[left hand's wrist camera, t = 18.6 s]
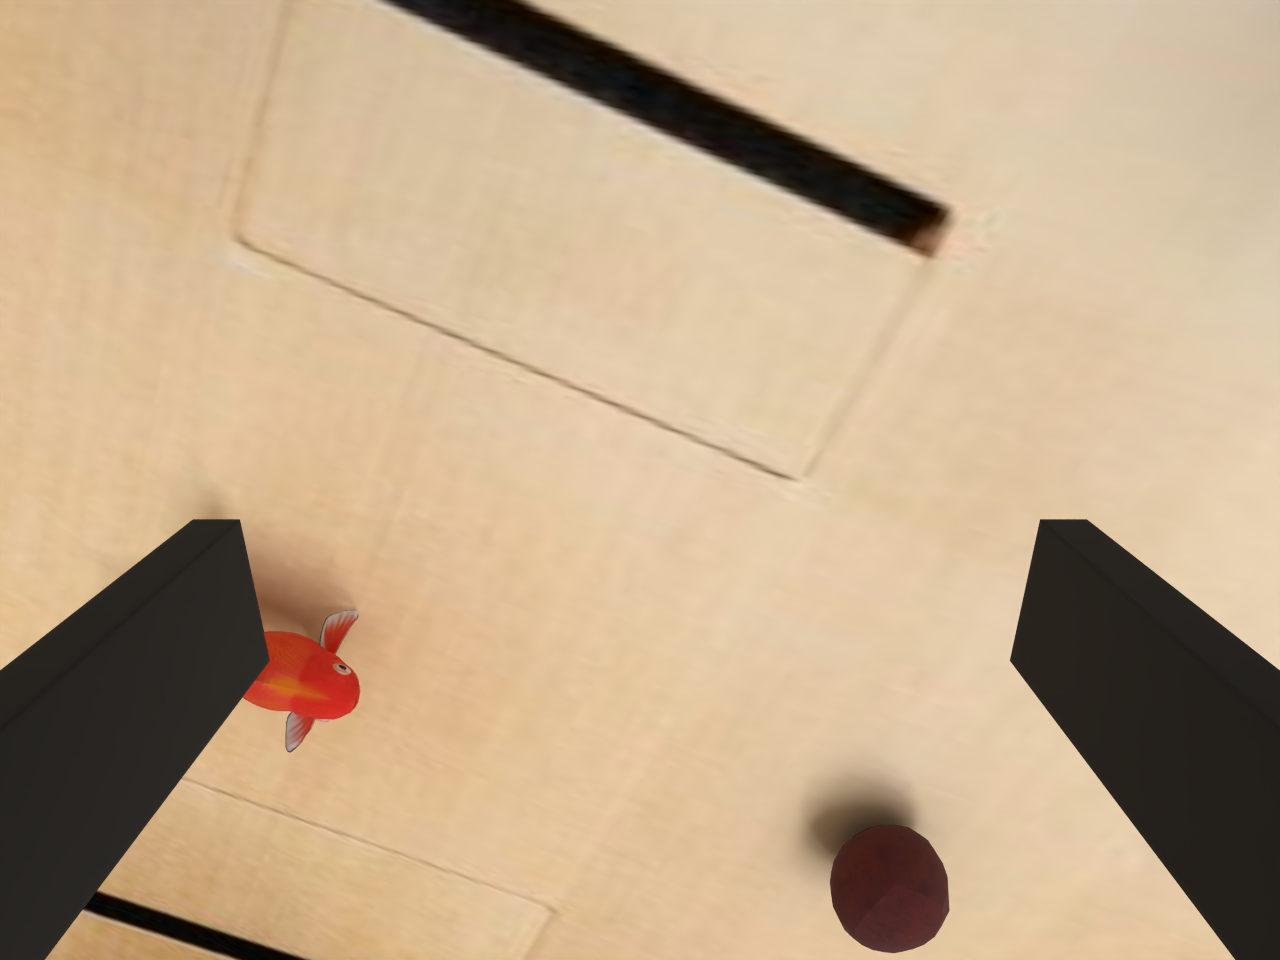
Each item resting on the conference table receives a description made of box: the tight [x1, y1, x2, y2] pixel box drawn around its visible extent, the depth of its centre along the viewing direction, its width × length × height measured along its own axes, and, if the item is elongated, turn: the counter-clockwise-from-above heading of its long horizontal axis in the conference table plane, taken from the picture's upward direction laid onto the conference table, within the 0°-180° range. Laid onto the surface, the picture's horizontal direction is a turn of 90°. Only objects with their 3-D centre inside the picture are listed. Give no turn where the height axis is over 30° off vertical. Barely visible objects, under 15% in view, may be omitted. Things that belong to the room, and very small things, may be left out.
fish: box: [243, 610, 360, 752], centre depth 43 cm, size 11×16×10 cm
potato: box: [830, 825, 949, 953], centre depth 50 cm, size 7×8×7 cm
